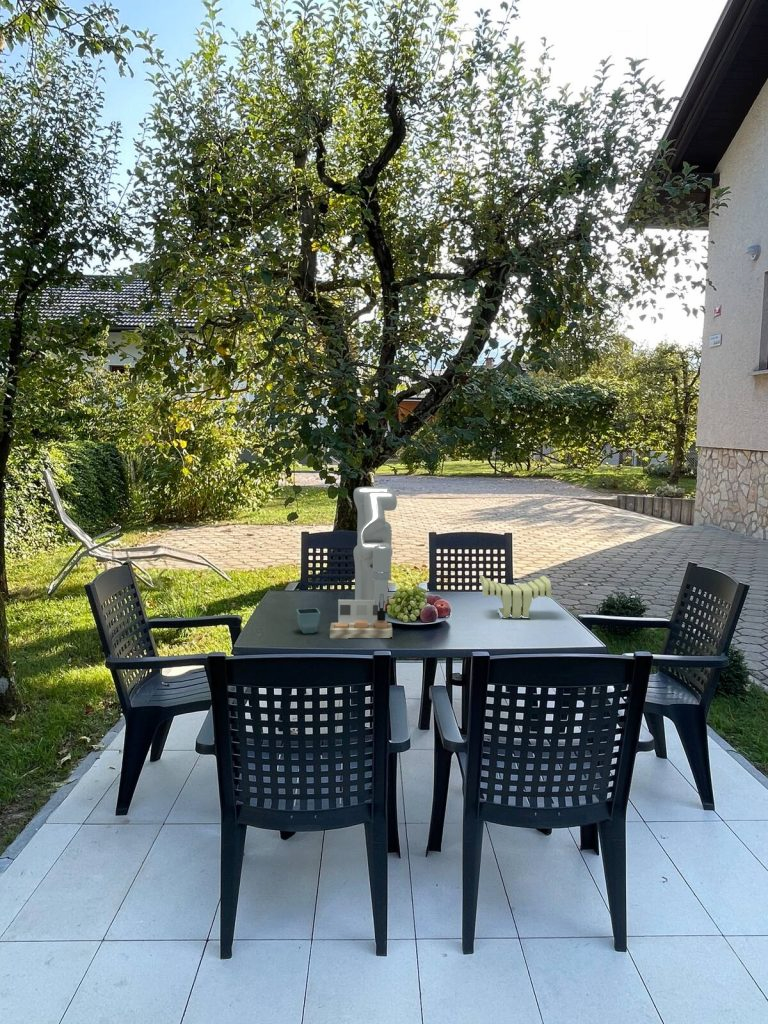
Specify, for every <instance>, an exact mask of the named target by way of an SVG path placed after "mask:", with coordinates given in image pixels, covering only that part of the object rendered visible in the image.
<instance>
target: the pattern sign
mask: <svg viewBox="0 0 768 1024" xmlns="http://www.w3.org/2000/svg"><path fill="white" fill-rule="evenodd" d="M337 601H338V603H337V606H338V607H337V608H338V609H337V611H338V614H337V623H355V620H367V623H375V620H377V610H378V604H375V600H355V599H338V600H337Z"/></svg>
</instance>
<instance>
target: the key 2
mask: <svg viewBox="0 0 768 1024" xmlns="http://www.w3.org/2000/svg"><path fill="white" fill-rule="evenodd" d="M387 623H388V620H387V619H385V621H378V620H375V628H387Z"/></svg>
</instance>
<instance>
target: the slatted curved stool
mask: <svg viewBox="0 0 768 1024" xmlns="http://www.w3.org/2000/svg"><path fill="white" fill-rule="evenodd" d="M479 582H480V584H481V588H482V596H483V597H484V598H486V597H488V596H490V597H497V598H499V599H500V600H501V603H502V607H500V608H499V607H498V609H499V610H500V612H501V613H502V615H503V617H510V614H511V615H512V617H520V616H521V615H522V616H524V617H529V618H530V614H529V613H530V612H529V611H530V608H531V605H532V604H533V603H532V602H533V600H535V599H537V598H539V597H541V598H545V597H546V598H549V599H551V598H552V584H551V580H550V579H549V578H548V577H546V576H545V575H542V576H540V577H539V578H536V579H534V580H532V581H531V580H530V581H528V582H527V583H526V582H525V583H524V582H523V583H519V584H506V583H500V582H496V581H494V580H491V579H489V578H487V577H485V576H483V575H482V574H479ZM510 618H511V617H510ZM520 618H521V617H520Z"/></svg>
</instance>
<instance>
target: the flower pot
mask: <svg viewBox="0 0 768 1024" xmlns="http://www.w3.org/2000/svg"><path fill="white" fill-rule="evenodd" d="M295 612H296V618H297V624H298V627H299V629H300V631H301V632H302V634H303V635H304V634H316V632H317V630H318V628H319V626H320V621H321V611H320V610H319V609H318V608H316V607H314V608H313V607H312V608H297V609H296V611H295Z"/></svg>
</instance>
